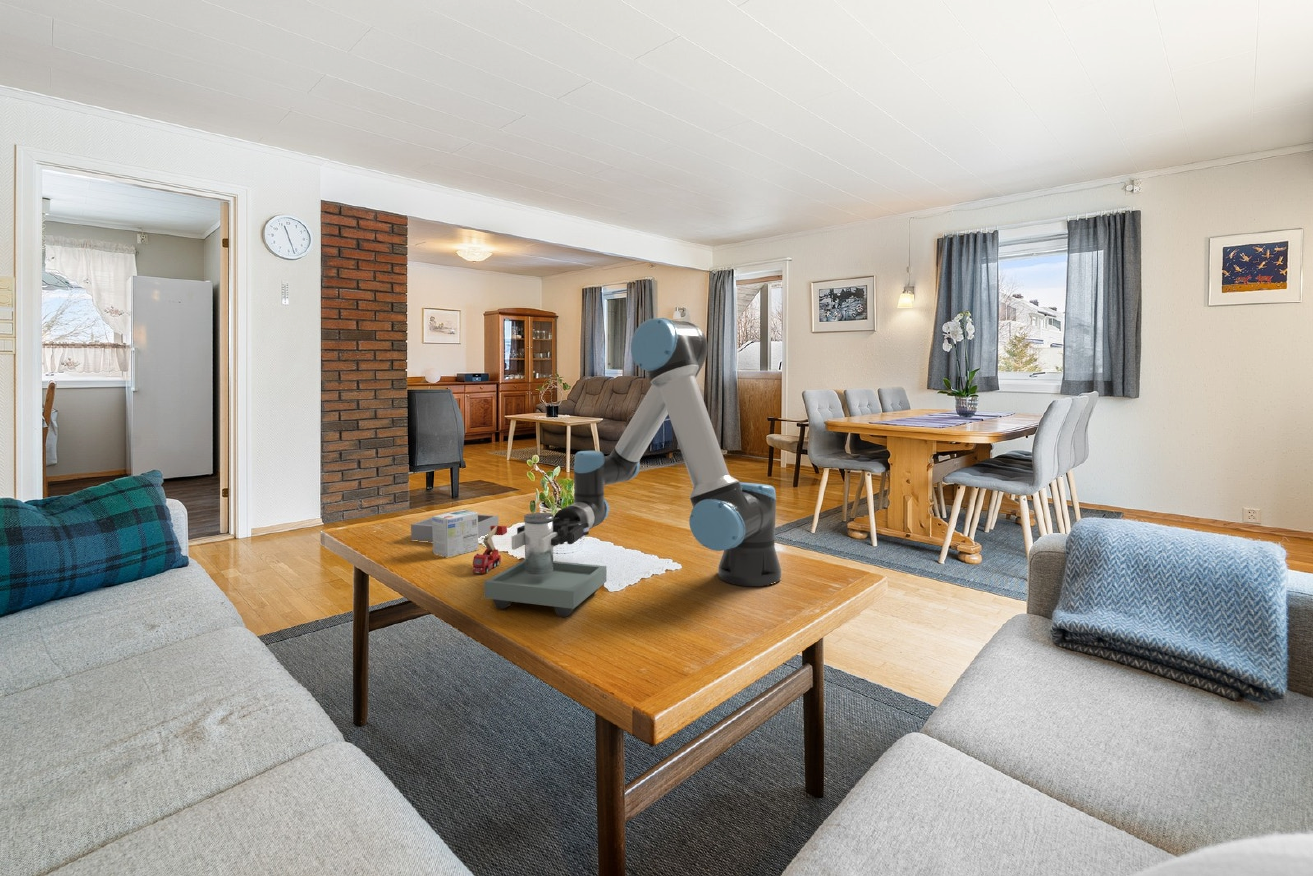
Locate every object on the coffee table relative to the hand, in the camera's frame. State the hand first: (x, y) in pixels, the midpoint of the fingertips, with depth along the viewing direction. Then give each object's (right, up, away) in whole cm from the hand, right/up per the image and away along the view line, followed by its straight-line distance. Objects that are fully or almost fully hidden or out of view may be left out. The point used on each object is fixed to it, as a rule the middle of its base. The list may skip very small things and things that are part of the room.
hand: (527, 544), depth 135 cm
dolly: (+3, -13, +6) cm, 15 cm away
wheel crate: (-33, -7, +60) cm, 69 cm away
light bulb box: (-28, -9, +43) cm, 52 cm away
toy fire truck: (-15, -11, +30) cm, 35 cm away
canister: (+1, -7, +6) cm, 9 cm away
